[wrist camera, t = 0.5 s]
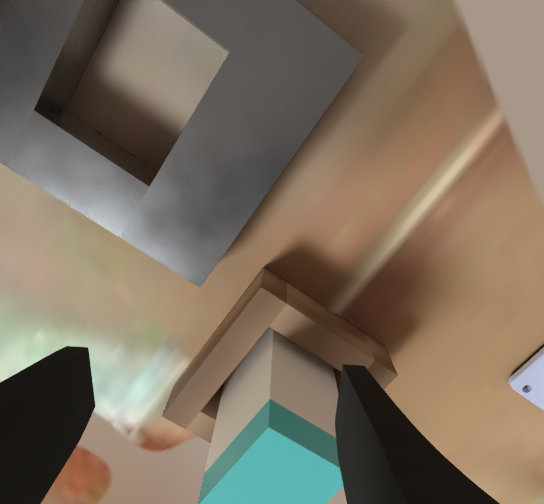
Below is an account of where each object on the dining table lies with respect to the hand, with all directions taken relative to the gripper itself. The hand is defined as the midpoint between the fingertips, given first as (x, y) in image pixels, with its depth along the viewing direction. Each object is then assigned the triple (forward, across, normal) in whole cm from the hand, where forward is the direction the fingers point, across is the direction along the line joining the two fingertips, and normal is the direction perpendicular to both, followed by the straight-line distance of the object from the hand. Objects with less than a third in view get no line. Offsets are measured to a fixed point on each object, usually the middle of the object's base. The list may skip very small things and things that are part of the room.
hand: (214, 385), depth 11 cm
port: (+10, +5, -8) cm, 14 cm away
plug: (+10, -2, +7) cm, 12 cm away
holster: (+10, -2, +7) cm, 12 cm away
